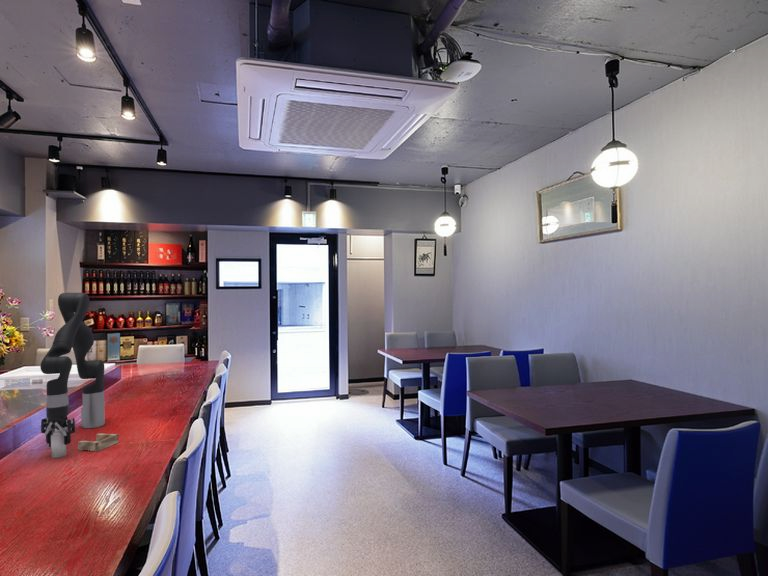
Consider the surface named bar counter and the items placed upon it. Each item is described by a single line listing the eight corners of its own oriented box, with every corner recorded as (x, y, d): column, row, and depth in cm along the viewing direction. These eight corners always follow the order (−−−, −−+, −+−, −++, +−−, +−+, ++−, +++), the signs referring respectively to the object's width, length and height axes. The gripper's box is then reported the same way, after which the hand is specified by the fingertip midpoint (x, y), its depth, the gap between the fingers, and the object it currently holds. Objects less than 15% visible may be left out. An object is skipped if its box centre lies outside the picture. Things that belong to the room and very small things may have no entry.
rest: (78, 450, 191) (78, 441, 191) (99, 441, 202) (98, 433, 202) (98, 451, 189) (98, 442, 189) (118, 442, 200) (118, 434, 200)
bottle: (48, 457, 183) (47, 423, 183) (59, 453, 188) (58, 420, 188) (58, 458, 182) (57, 424, 182) (69, 453, 187) (68, 420, 187)
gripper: (34, 406, 183) (35, 446, 183) (64, 407, 180) (65, 447, 180) (51, 402, 190) (52, 440, 190) (79, 402, 188) (80, 441, 188)
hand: (58, 443), depth 185 cm, fingers open, 8 cm apart
